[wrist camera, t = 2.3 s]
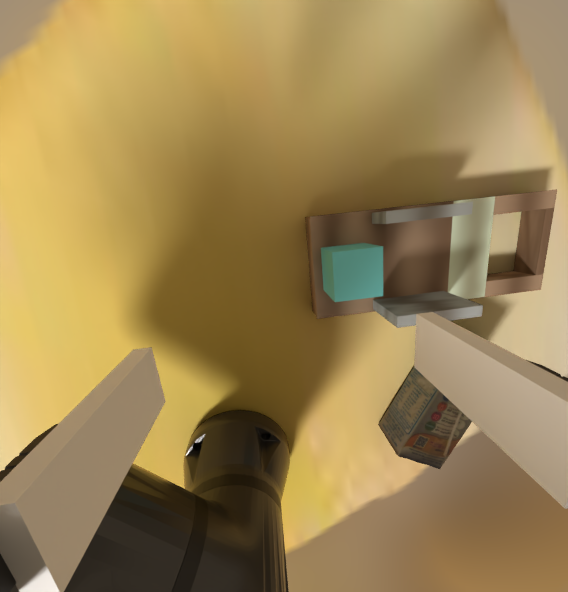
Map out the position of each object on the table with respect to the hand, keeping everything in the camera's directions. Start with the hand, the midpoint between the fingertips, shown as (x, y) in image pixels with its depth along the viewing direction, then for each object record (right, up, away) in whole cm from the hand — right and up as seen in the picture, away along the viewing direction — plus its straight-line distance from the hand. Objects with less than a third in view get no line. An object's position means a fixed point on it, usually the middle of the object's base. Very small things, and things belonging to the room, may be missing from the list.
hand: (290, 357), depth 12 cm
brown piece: (+17, +8, +22) cm, 29 cm away
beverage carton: (+21, -10, +28) cm, 37 cm away
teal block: (+7, +6, +19) cm, 21 cm away
